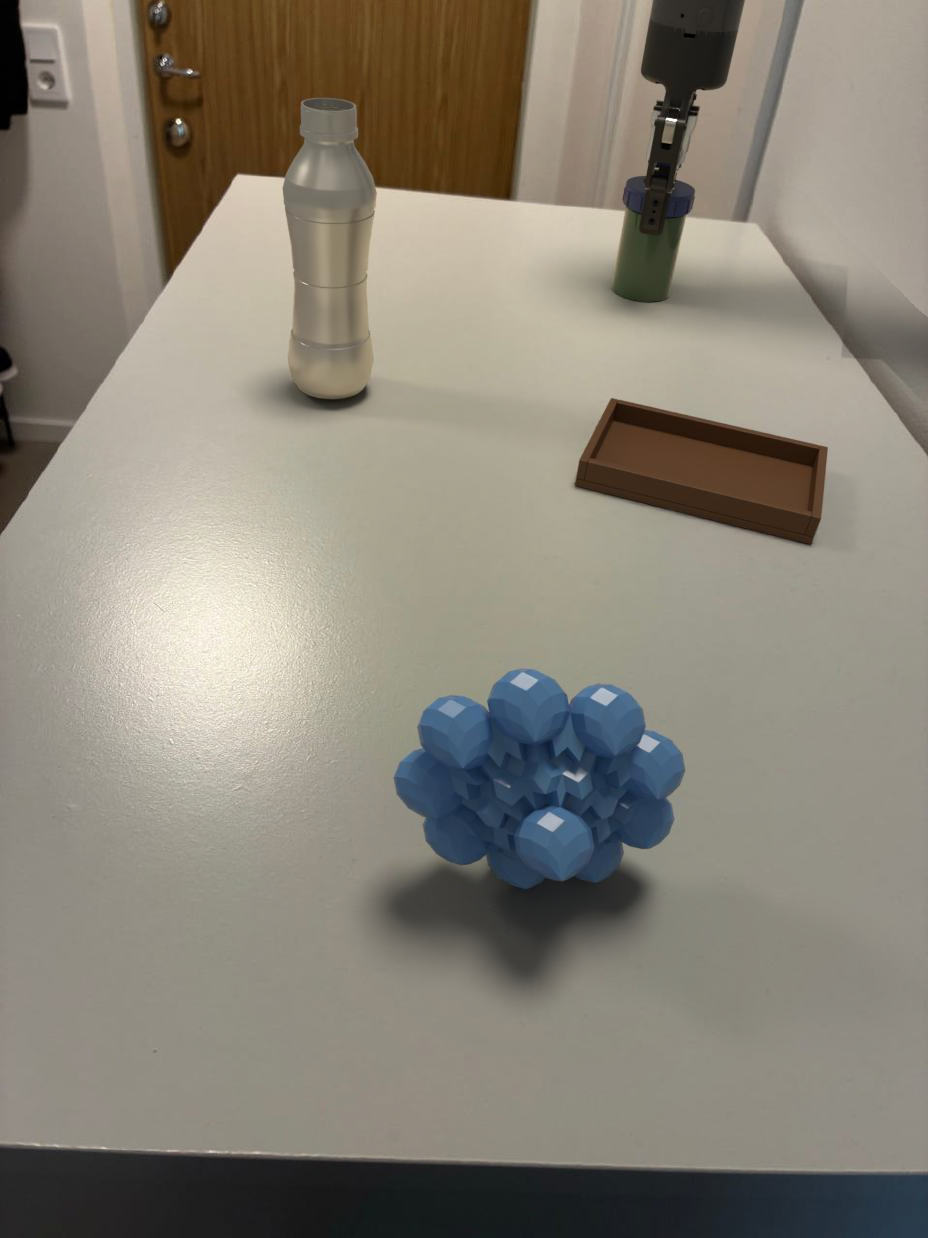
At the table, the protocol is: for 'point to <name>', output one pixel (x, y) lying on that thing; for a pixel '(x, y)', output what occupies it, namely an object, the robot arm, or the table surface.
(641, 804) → the blue ball cluster
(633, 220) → the jam jar
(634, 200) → the jar lid
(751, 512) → the serving tray
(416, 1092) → the table surface
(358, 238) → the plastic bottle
